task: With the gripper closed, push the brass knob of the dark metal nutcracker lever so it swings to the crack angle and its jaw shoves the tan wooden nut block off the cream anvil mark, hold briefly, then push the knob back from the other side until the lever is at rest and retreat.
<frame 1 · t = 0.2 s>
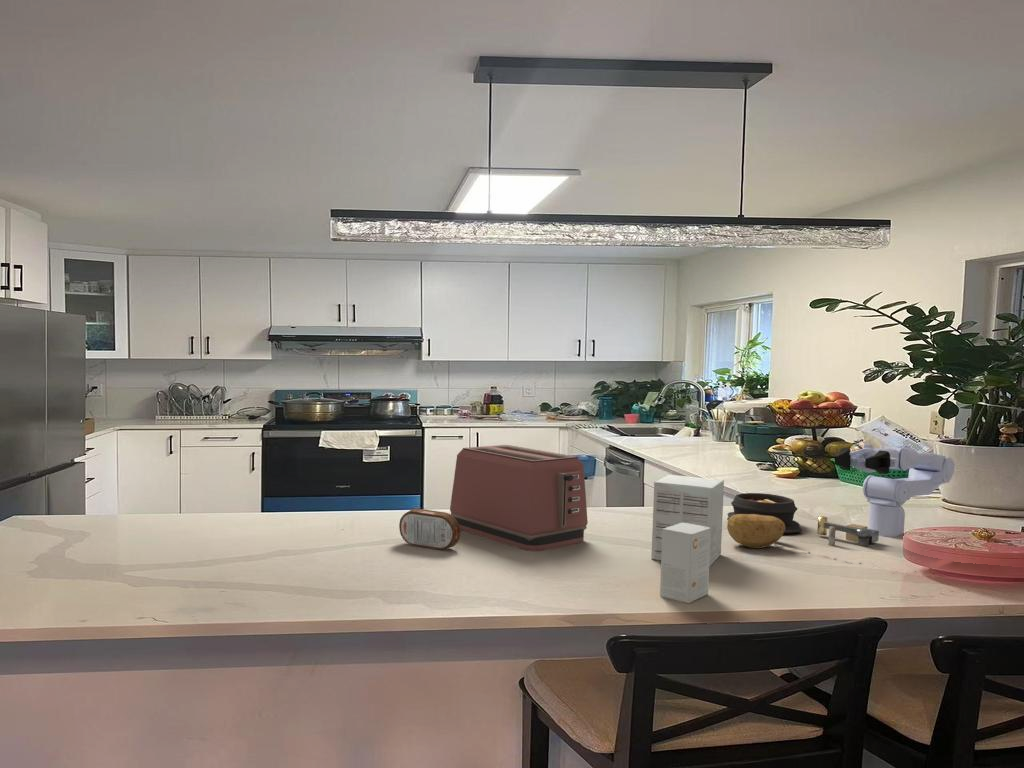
hand: (851, 461, 192), 21 cm above the table, tool horizontal, fingers open, 7 cm apart
nut block: (856, 540, 196), point 1 cm above the table, touching press base
lever: (847, 529, 196), point 4 cm above the table, hinge at 0.0°
potato: (755, 547, 190), on the table
press base: (847, 546, 194), on the table
supplement box: (686, 558, 179), on the table
toaster: (518, 535, 196), on the table
tin: (428, 548, 180), on the table
casserole: (762, 529, 211), on the table
small box: (683, 596, 150), on the table
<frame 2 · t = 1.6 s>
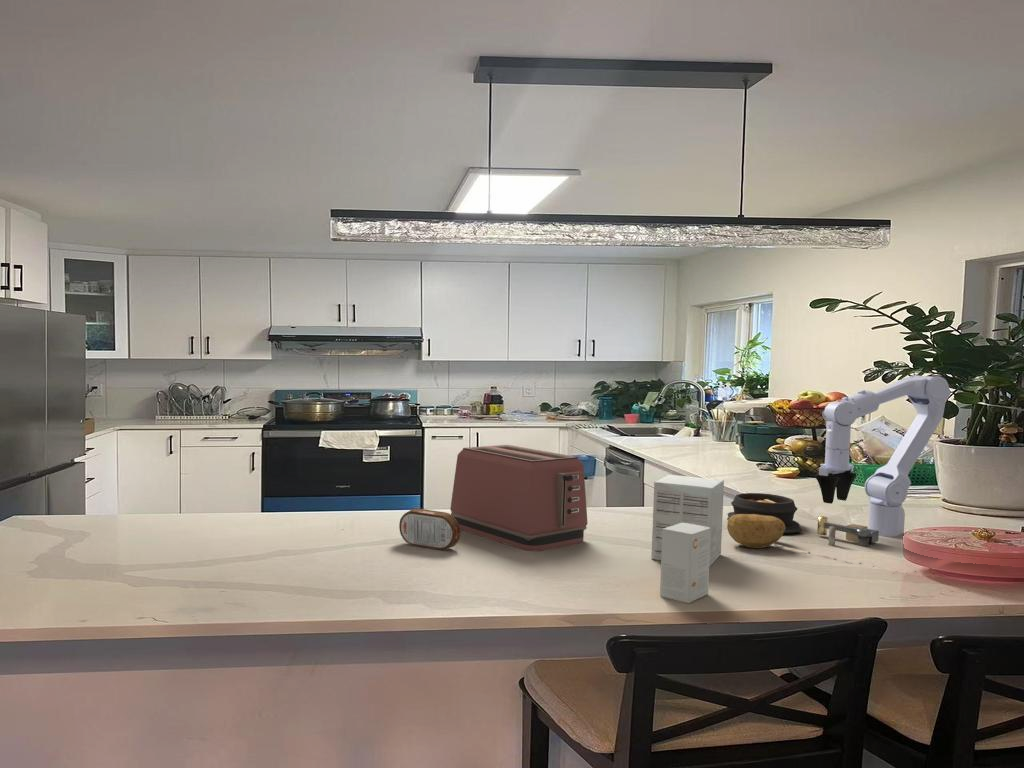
hand: (834, 501, 202), 9 cm above the table, tool pointing down, fingers open, 7 cm apart
nothing on the table moved.
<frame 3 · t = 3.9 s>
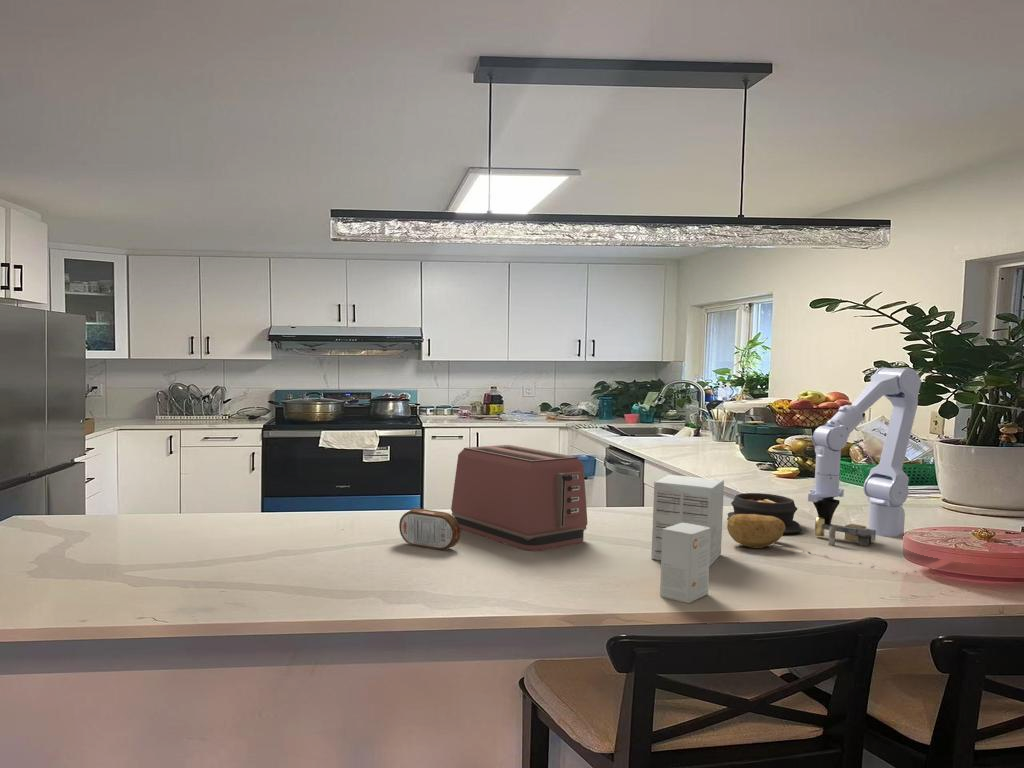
hand: (824, 527, 199), 3 cm above the table, tool pointing down, fingers closed
nut block: (854, 540, 196), point 1 cm above the table
lever: (845, 529, 195), point 4 cm above the table, hinge at 8.1°, touching gripper
everything else where it was.
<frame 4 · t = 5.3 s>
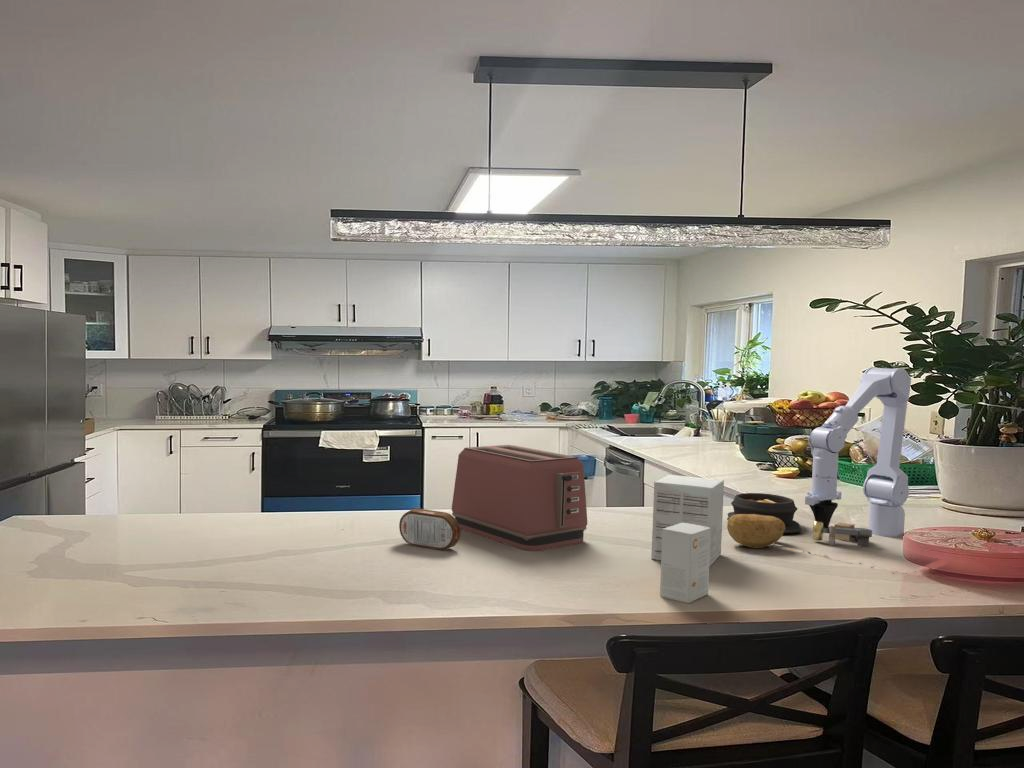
hand: (822, 531, 195), 3 cm above the table, tool pointing down, fingers closed
nut block: (844, 538, 197), point 1 cm above the table
lever: (840, 530, 193), point 4 cm above the table, hinge at 37.9°, touching gripper
everything else where it was.
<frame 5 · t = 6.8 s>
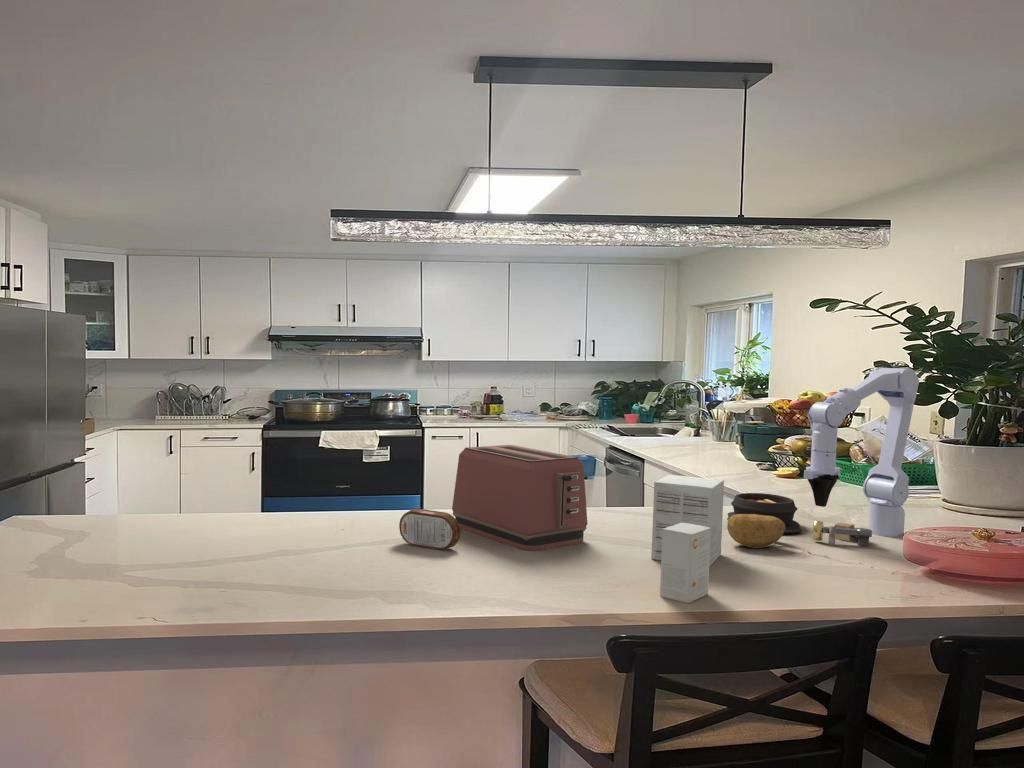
hand: (820, 505, 194), 10 cm above the table, tool pointing down, fingers closed
nut block: (844, 538, 197), point 1 cm above the table, touching lever, press base
lever: (840, 530, 193), point 4 cm above the table, hinge at 38.2°, touching nut block
everything else where it was.
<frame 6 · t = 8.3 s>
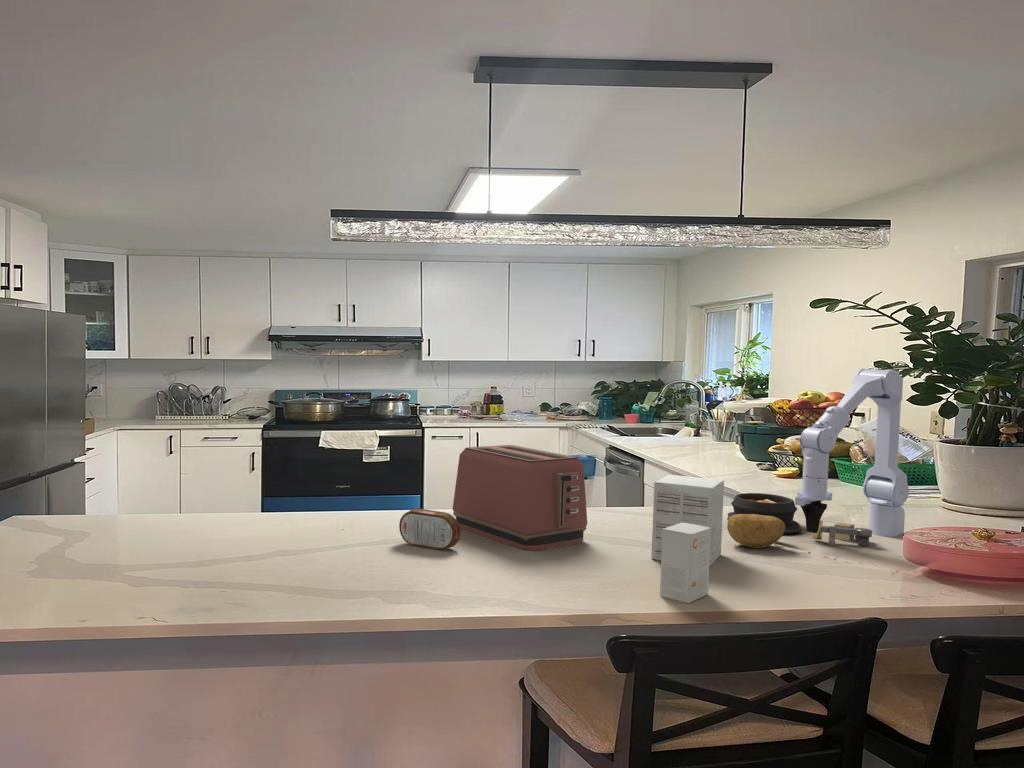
hand: (812, 532, 193), 3 cm above the table, tool pointing down, fingers closed, pressing on lever
nut block: (844, 538, 197), point 1 cm above the table, touching press base
lever: (841, 530, 194), point 4 cm above the table, hinge at 32.7°, touching gripper
everything else where it was.
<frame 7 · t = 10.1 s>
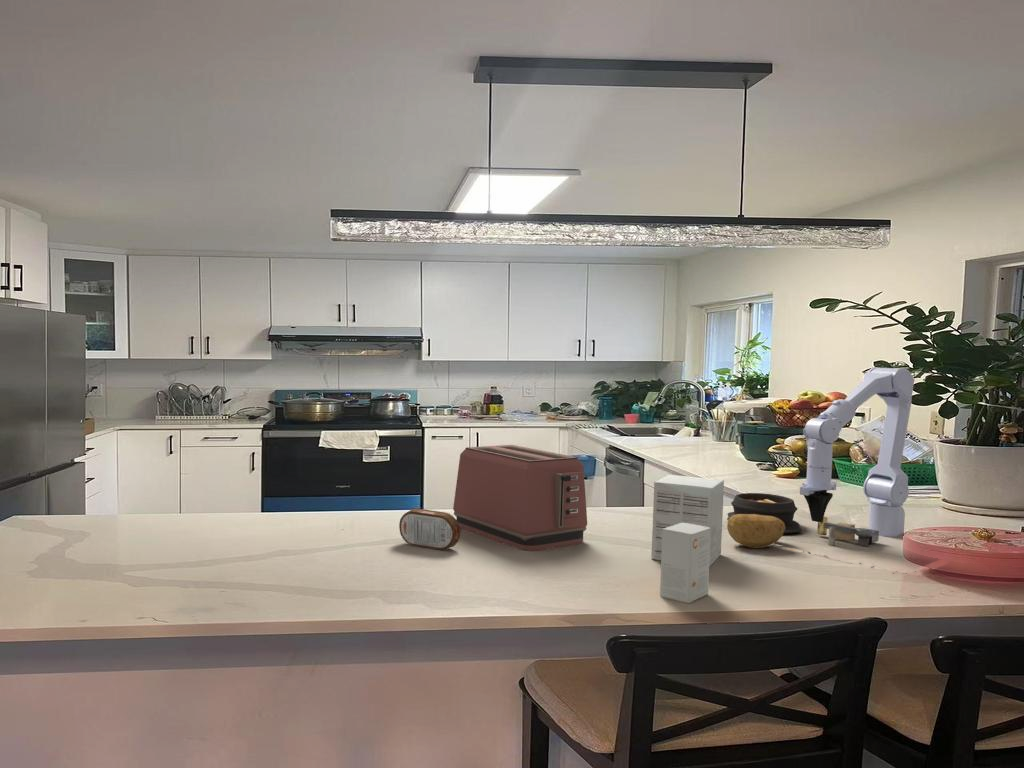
hand: (816, 521, 196), 5 cm above the table, tool pointing down, fingers closed
nut block: (844, 538, 197), point 1 cm above the table, touching lever, press base
lever: (847, 529, 196), point 4 cm above the table, hinge at 0.0°, touching nut block
everything else where it was.
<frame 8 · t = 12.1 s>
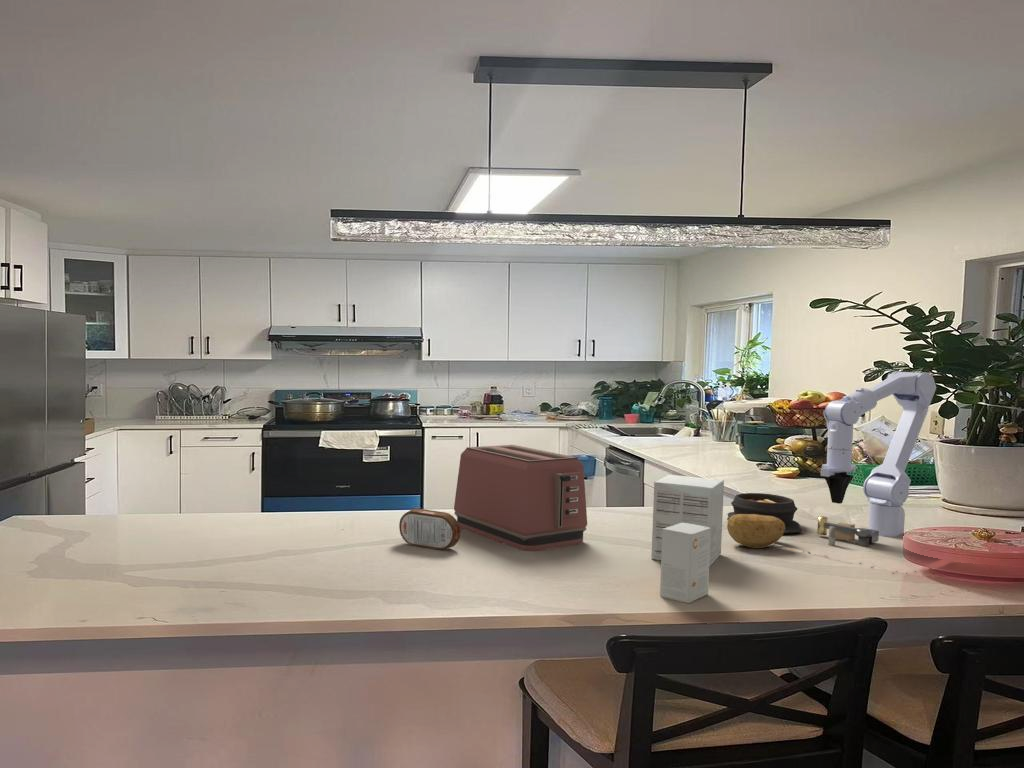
hand: (837, 502, 198), 10 cm above the table, tool pointing down, fingers closed
nothing on the table moved.
at the end: lever at +0° (first picture: +0°); nut block moved 2.7 cm from its start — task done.
